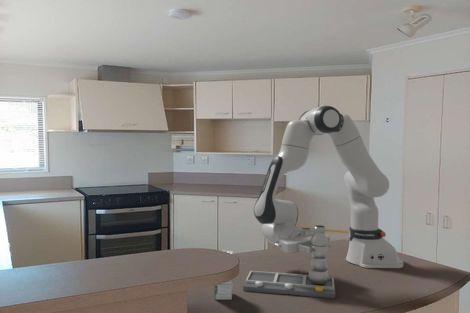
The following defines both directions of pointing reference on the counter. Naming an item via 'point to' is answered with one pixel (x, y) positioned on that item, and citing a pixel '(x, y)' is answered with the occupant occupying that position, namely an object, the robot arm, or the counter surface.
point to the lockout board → (288, 284)
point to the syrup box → (224, 289)
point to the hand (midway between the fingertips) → (320, 248)
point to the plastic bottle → (319, 256)
